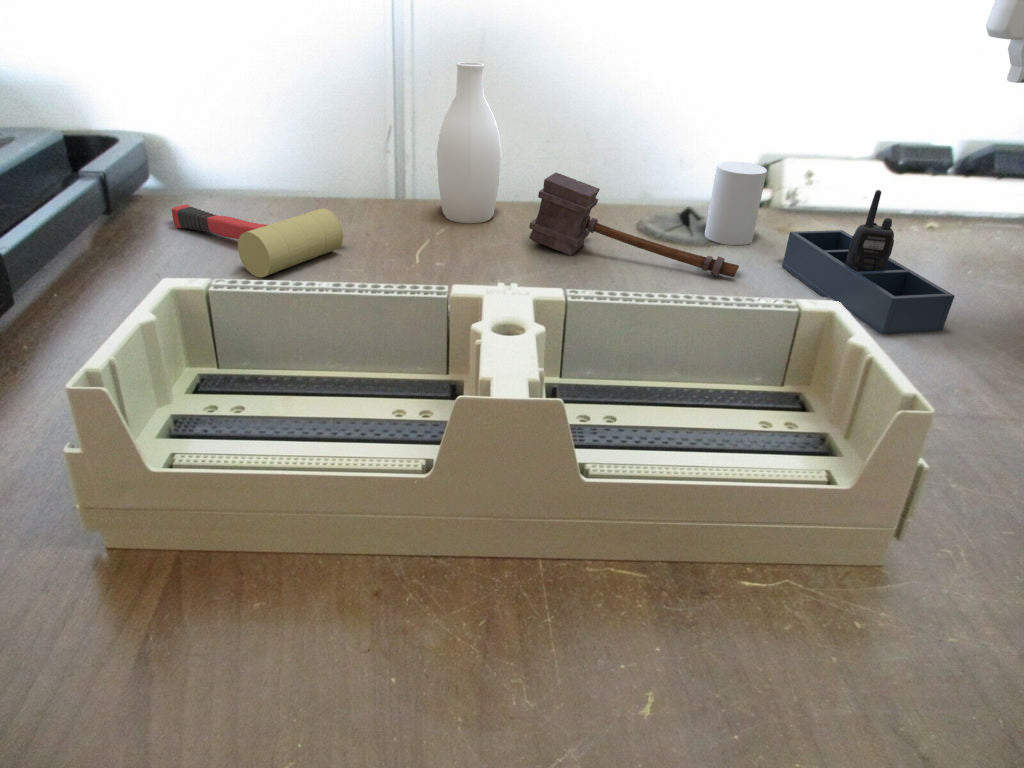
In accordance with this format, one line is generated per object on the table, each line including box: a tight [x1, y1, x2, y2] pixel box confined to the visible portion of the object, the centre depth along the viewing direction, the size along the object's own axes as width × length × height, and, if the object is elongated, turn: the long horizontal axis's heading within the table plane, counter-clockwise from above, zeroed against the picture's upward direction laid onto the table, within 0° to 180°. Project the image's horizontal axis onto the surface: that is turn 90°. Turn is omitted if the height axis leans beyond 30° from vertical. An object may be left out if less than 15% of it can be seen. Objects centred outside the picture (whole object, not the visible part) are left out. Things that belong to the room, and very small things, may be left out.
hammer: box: [528, 172, 740, 278], centre depth 119 cm, size 7×33×10 cm, turn 66°
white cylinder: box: [704, 161, 768, 246], centre depth 130 cm, size 8×8×12 cm
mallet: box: [171, 203, 344, 278], centre depth 118 cm, size 14×6×30 cm
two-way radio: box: [845, 189, 895, 272], centre depth 107 cm, size 6×4×15 cm
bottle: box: [436, 61, 502, 224], centre depth 131 cm, size 11×11×25 cm
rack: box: [781, 229, 956, 335], centre depth 110 cm, size 9×26×6 cm, turn 12°
